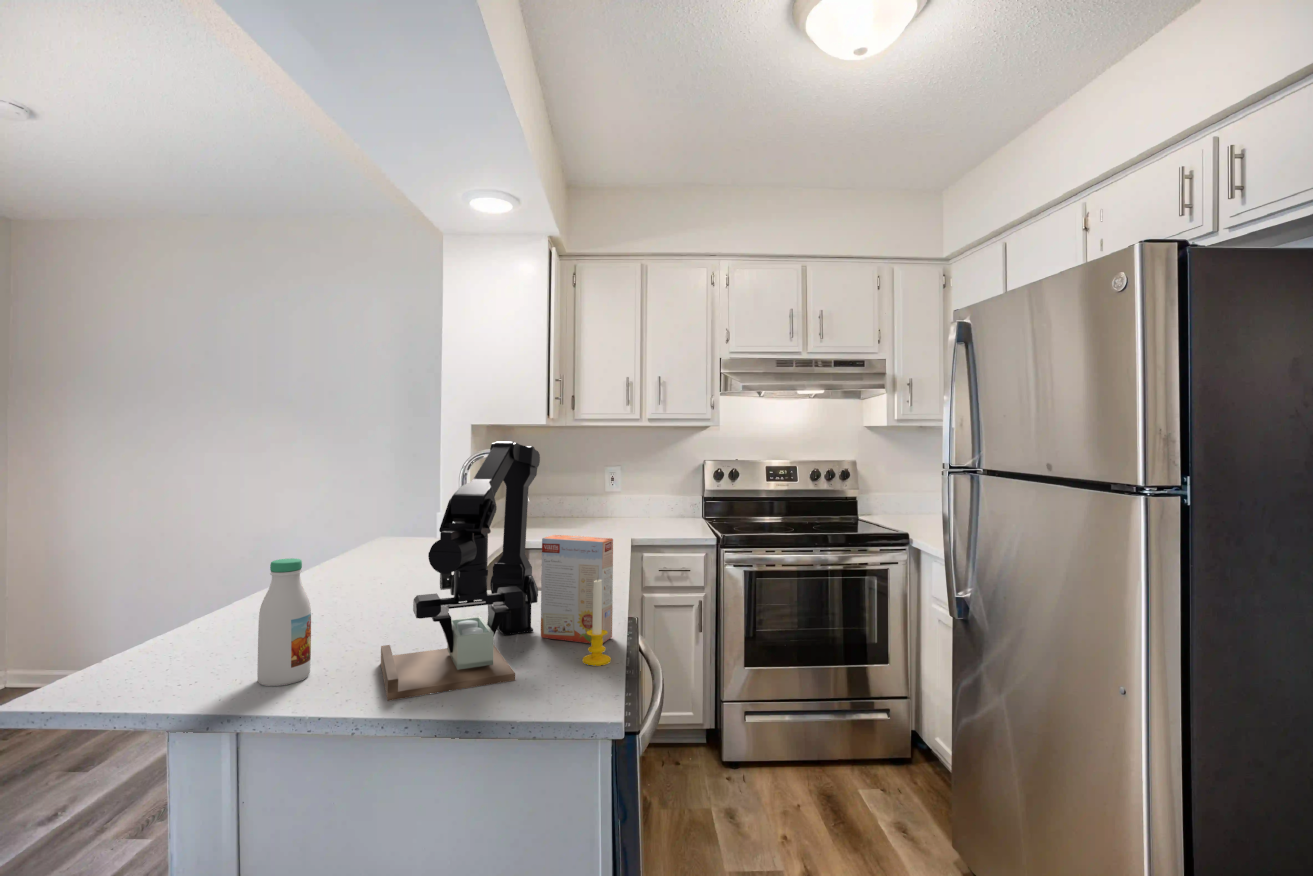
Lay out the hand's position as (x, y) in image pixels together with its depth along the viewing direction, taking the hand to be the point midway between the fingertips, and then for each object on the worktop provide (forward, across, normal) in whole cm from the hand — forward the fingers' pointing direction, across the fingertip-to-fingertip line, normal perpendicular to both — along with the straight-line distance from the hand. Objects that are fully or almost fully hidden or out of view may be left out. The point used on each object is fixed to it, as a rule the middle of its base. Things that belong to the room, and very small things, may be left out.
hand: (469, 649), depth 112 cm
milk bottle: (+4, +29, -8) cm, 30 cm away
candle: (+4, -22, +6) cm, 23 cm away
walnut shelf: (+3, +4, 0) cm, 5 cm away
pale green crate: (+1, 0, 0) cm, 1 cm away
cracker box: (+4, -23, -8) cm, 25 cm away
